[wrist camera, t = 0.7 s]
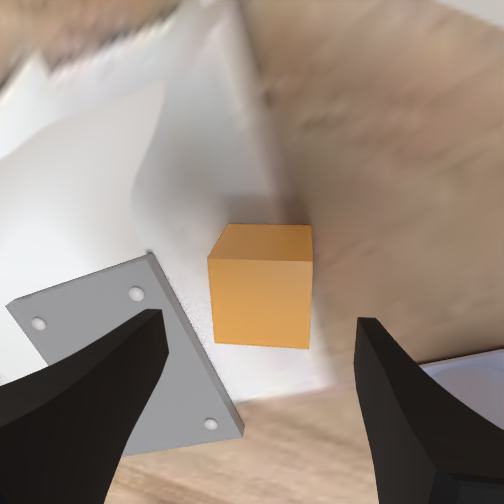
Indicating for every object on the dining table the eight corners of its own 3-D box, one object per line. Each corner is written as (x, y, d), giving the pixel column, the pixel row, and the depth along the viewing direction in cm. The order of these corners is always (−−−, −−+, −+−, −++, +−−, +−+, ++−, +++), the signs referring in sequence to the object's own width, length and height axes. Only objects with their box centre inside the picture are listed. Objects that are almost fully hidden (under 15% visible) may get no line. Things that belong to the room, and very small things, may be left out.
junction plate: (244, 426, 28) (234, 482, 24) (121, 447, 32) (93, 499, 27) (152, 252, 23) (119, 286, 19) (15, 298, 26) (-38, 336, 22)
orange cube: (311, 225, 21) (313, 261, 16) (308, 298, 23) (309, 349, 18) (227, 223, 22) (207, 258, 17) (232, 295, 24) (214, 342, 19)
